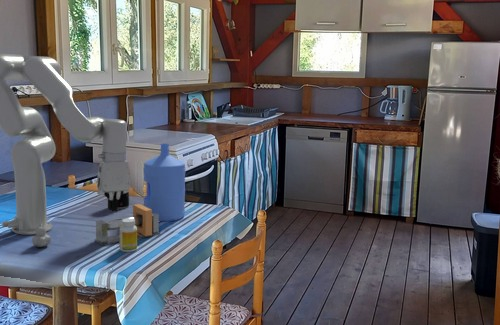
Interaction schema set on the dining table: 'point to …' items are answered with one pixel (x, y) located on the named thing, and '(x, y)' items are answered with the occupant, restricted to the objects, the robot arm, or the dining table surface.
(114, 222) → the pipe rig
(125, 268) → the dining table surface
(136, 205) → the collar
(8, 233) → the dining table surface
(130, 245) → the supplement bottle
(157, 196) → the water jug
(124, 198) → the beverage can
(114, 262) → the dining table surface
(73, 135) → the robot arm
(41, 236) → the grey figurine
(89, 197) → the dining table surface
